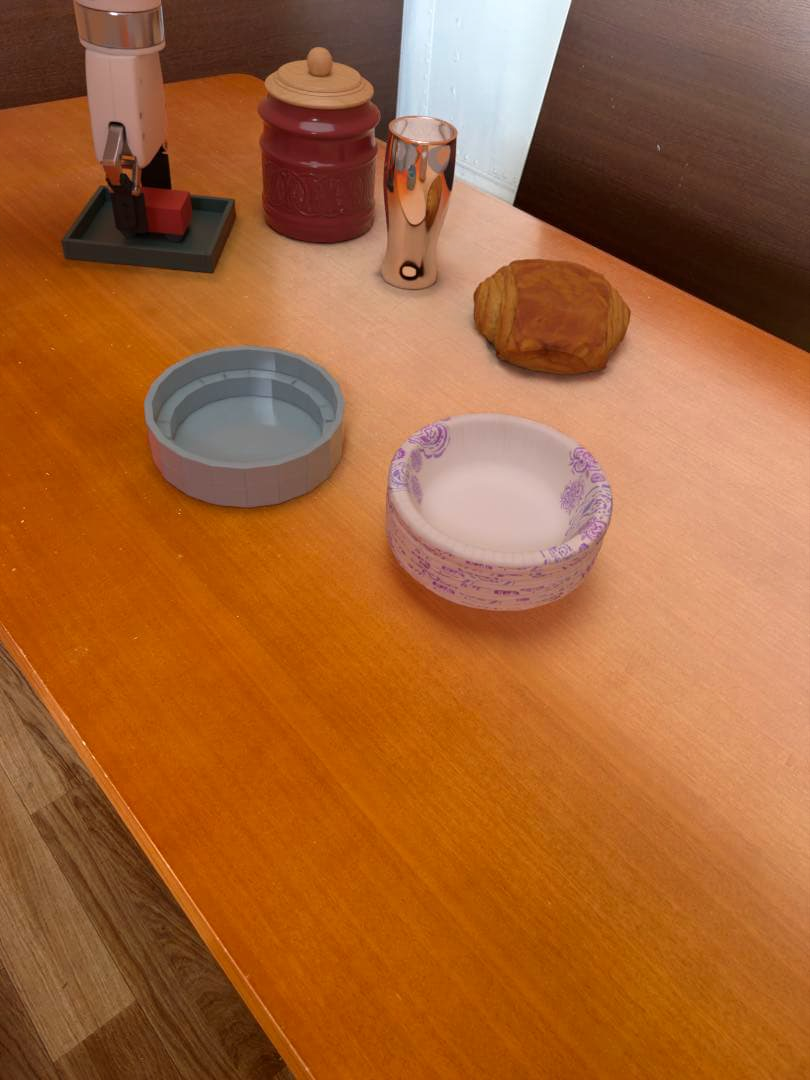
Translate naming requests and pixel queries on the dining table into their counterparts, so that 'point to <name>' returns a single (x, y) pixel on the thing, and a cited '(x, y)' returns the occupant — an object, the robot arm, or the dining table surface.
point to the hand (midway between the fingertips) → (145, 209)
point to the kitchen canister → (318, 150)
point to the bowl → (245, 425)
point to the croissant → (551, 316)
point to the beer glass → (416, 197)
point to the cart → (166, 212)
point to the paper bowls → (496, 511)
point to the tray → (151, 236)
